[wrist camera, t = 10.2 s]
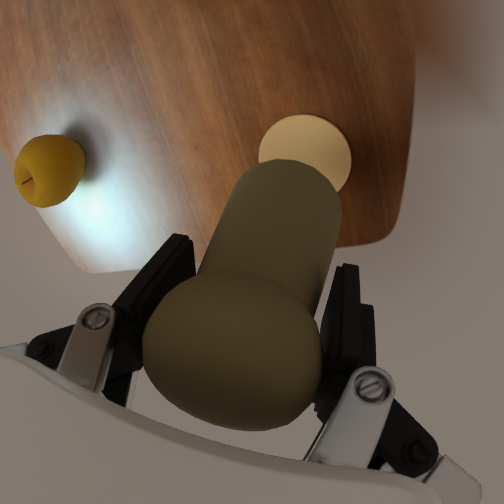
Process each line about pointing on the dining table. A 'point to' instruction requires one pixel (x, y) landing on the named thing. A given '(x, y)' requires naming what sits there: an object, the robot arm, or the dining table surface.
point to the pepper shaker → (251, 305)
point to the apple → (49, 169)
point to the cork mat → (309, 146)
